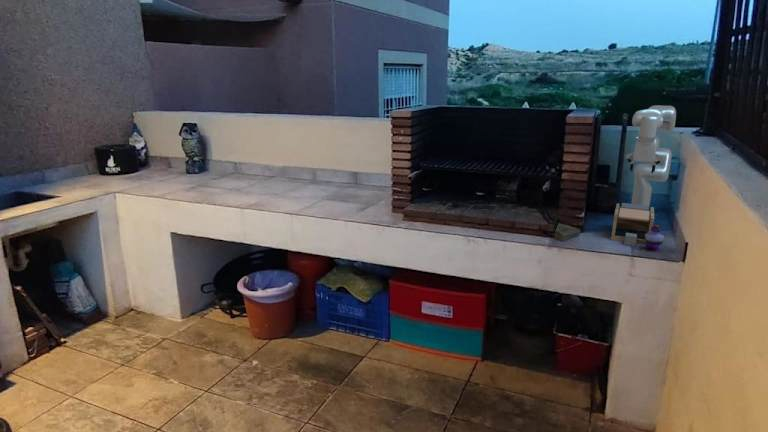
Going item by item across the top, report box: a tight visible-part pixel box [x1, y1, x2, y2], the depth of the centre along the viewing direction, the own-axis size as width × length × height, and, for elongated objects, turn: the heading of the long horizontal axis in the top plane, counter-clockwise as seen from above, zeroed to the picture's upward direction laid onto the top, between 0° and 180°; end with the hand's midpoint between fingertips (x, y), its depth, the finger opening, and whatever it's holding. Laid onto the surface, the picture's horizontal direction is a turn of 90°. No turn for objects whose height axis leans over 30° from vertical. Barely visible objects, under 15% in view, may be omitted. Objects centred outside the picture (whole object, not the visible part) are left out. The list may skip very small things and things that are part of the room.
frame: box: [610, 203, 655, 245], centre depth 261 cm, size 25×18×14 cm
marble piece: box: [553, 222, 581, 242], centre depth 264 cm, size 17×15×4 cm
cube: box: [623, 232, 638, 247], centre depth 250 cm, size 5×5×5 cm
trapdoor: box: [618, 202, 650, 222], centre depth 260 cm, size 18×14×4 cm
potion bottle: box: [644, 224, 665, 252], centre depth 242 cm, size 9×9×12 cm
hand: (641, 171), depth 263 cm, fingers open, 9 cm apart
